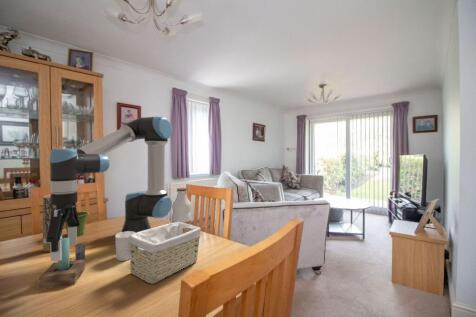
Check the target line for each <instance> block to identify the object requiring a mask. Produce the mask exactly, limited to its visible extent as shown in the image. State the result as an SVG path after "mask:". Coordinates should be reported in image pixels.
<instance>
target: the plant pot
mask: <svg viewBox="0 0 476 317" xmlns="http://www.w3.org/2000/svg"><path fill="white" fill-rule="evenodd" d="M77 214H78V218H79V223H80V225H79V226H76V227H77V237H79V236H80V235H83V234H85V228H86V223H87V220H88V215H89V214H90V212H88V211H77ZM64 225H65V230H66V234H67V236H68V227H69V225H68V223H67V221H66V222H65V223H64Z"/></svg>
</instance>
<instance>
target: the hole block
mask: <svg viewBox="0 0 476 317" xmlns="http://www.w3.org/2000/svg"><path fill="white" fill-rule="evenodd" d="M85 270H86V258H85V259H83V260H75V259H74V260H69V270H63V271H58V261H56V262H53V263H52V264H50V265H49V267H47V269H46V270H45V271H44V272H42V274H40V275H39V276H38V290H43V289H44V288H45V289H51V288H50V287H52V288H57V286H59V287H66V286H72V285H71V284H73V285H76V283H77V282H78V280H80V279H79V278H81V276H82V275H83V273H84V272H85ZM65 285H66V286H65ZM45 289H44V290H45Z"/></svg>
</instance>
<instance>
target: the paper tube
mask: <svg viewBox="0 0 476 317" xmlns="http://www.w3.org/2000/svg"><path fill="white" fill-rule="evenodd" d="M51 194H52V193H50V194H46V195H43V196H42V198H43V199H42V202H43V203H42V251H43V252H46V253H48V252H50V242H46V240H47V235H48V230H49V225H50V220H51V211H52V210H56V207H57V206H56V205H52V204H51V201H50V195H51ZM53 238H54V237H53ZM62 238H63V233H62V234H61V237H60V239H62Z"/></svg>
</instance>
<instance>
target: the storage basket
mask: <svg viewBox="0 0 476 317" xmlns="http://www.w3.org/2000/svg"><path fill="white" fill-rule="evenodd" d="M183 230H184V231H188V232H187V233H184V234H183ZM201 230H202V229H201V227H199V226H196V225H192V224H191V225H189V224H185V223H182V222H174V223H172V222H170V223H167V224H162V225H159V226H155V227H151V229H147V230H143V231H140V232H137V233H134V234H132V235H130V236H129V247H130V248H129V250H130V259H129V260H130V272H131V274H133V275H134V276H136V277H137V278H139V279H141V280H143V281H144V282H146V283H148V284H150V283H151V284H150V285H154V284H156V283H158V282H160V281H162V280H164V279H166V278H168V277H170V276H171V275H174V274H176V273H177V272H179V270H180V271H182V270H184V269H185V268H187V267H189V266H191V265H193V264H194V263H197V261H198V253H199V245H200V238H201V235H202V234H201V233H202V232H201ZM183 268H184V269H183ZM181 269H182V270H181ZM167 276H168V277H167ZM165 277H166V278H165ZM153 283H154V284H153Z"/></svg>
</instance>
